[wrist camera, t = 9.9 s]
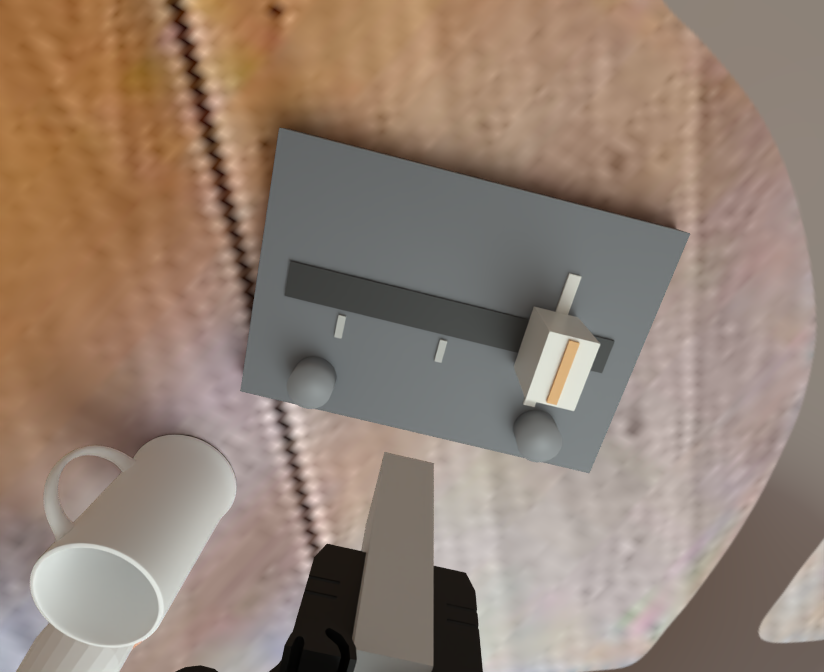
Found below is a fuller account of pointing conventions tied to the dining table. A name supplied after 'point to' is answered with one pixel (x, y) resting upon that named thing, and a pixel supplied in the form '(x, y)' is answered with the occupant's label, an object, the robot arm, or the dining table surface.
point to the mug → (130, 540)
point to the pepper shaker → (71, 655)
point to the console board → (443, 298)
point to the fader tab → (555, 358)
